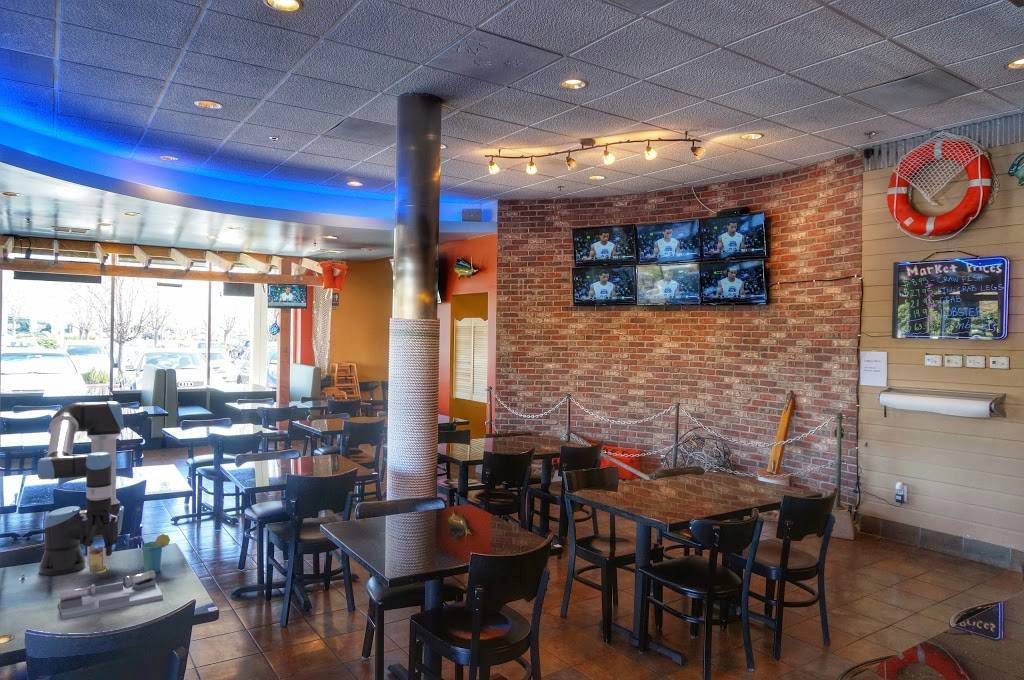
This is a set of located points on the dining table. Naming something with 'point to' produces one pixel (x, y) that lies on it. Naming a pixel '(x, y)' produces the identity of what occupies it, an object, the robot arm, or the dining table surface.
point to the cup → (153, 552)
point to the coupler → (97, 560)
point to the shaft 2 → (140, 581)
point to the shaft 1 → (78, 593)
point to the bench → (108, 600)
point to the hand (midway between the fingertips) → (98, 564)
